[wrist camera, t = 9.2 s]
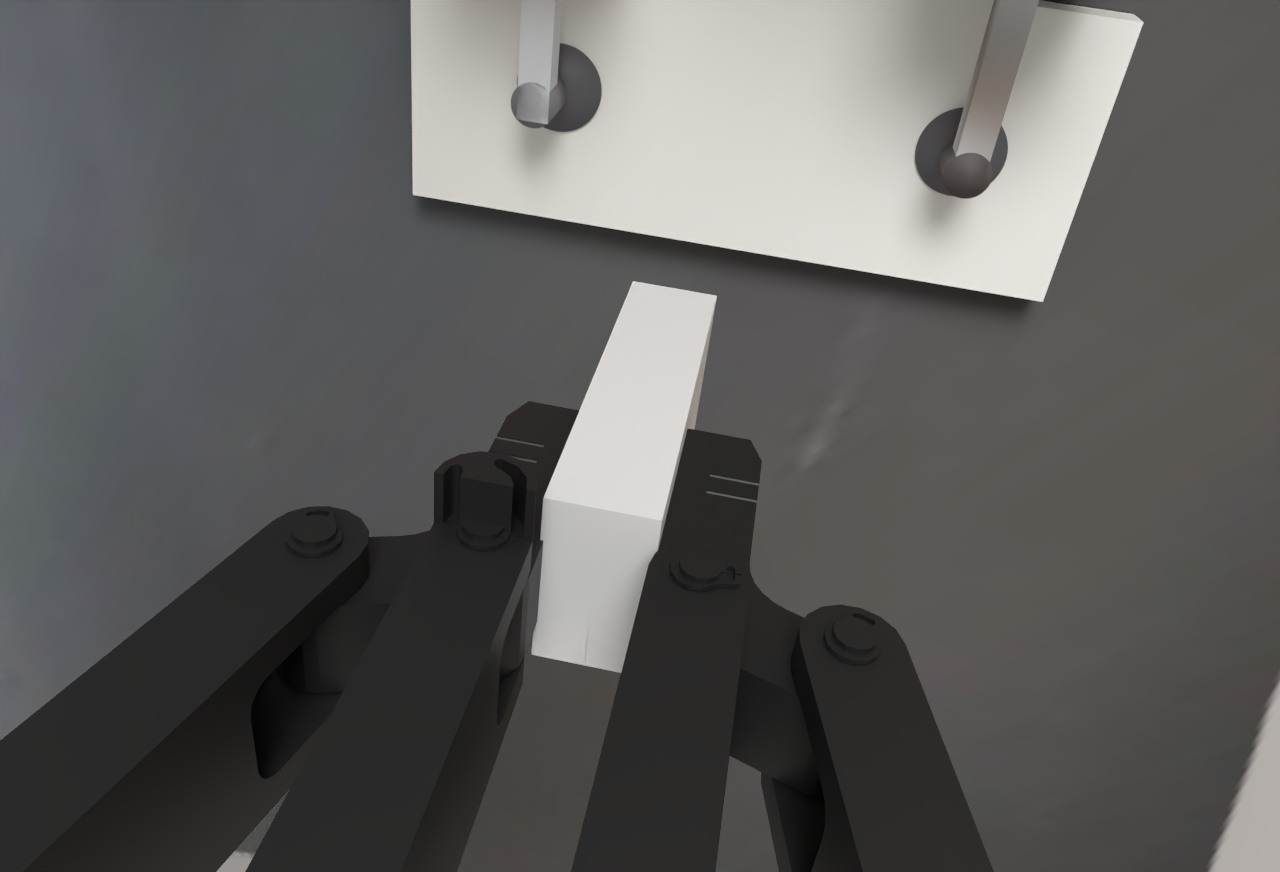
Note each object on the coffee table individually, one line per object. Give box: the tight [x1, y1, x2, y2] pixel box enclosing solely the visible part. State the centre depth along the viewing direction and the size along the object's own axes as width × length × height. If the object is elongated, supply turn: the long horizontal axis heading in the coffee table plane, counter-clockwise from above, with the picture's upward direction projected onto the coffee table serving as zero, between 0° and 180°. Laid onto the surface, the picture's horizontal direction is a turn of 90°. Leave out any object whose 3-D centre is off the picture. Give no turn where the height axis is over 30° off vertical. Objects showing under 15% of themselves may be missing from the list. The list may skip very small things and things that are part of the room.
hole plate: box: [411, 0, 1143, 302], centre depth 34 cm, size 9×22×1 cm, turn 84°
